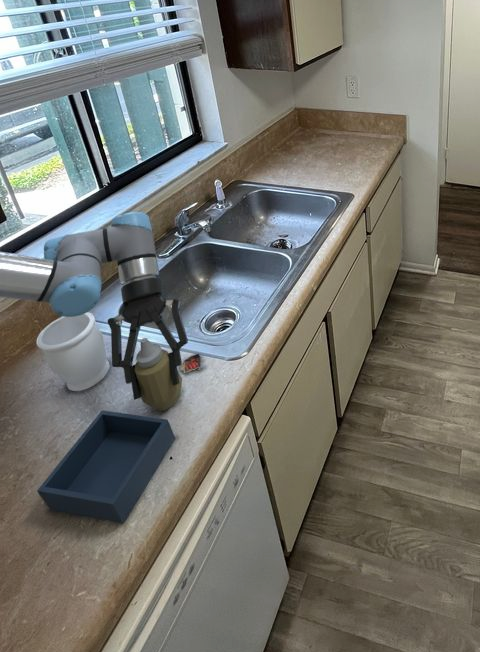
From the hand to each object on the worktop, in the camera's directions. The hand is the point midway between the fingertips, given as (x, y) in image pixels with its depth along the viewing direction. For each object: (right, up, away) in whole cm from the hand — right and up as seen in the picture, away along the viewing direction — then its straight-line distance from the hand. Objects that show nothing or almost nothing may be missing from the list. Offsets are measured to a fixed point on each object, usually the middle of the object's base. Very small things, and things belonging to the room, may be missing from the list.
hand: (157, 391), depth 90 cm
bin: (-3, -11, -7) cm, 14 cm away
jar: (-23, -3, +12) cm, 26 cm away
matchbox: (0, -1, +14) cm, 14 cm away
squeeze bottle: (-1, -5, +6) cm, 8 cm away
